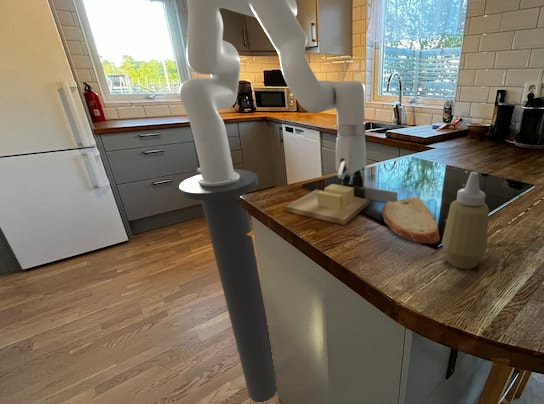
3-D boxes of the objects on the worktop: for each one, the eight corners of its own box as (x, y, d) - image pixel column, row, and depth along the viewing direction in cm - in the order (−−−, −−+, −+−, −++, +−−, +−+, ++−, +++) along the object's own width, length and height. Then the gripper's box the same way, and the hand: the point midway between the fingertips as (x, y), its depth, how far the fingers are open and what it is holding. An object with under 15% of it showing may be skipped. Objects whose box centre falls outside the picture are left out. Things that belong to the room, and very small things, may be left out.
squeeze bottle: (441, 247, 63) (450, 164, 55) (482, 253, 60) (497, 168, 53) (438, 269, 56) (448, 178, 48) (484, 277, 53) (502, 182, 46)
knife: (339, 195, 90) (338, 184, 88) (343, 192, 92) (342, 182, 90) (395, 205, 82) (396, 193, 81) (398, 202, 84) (398, 191, 83)
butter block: (325, 201, 82) (324, 188, 81) (332, 196, 85) (332, 183, 84) (347, 205, 79) (346, 192, 78) (354, 200, 82) (353, 187, 81)
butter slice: (317, 205, 79) (316, 192, 78) (320, 203, 80) (320, 190, 79) (340, 210, 76) (339, 196, 75) (343, 208, 78) (342, 194, 76)
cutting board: (286, 211, 80) (285, 206, 79) (316, 193, 91) (316, 189, 91) (344, 225, 72) (344, 219, 72) (369, 204, 84) (369, 199, 83)
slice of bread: (434, 248, 62) (435, 232, 61) (361, 226, 71) (361, 212, 70) (458, 216, 76) (460, 202, 75) (395, 201, 85) (395, 189, 84)
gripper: (354, 125, 89) (356, 182, 96) (321, 134, 75) (326, 201, 82) (377, 126, 85) (377, 185, 93) (347, 137, 72) (349, 205, 79)
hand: (353, 192), depth 87 cm, fingers open, 4 cm apart
